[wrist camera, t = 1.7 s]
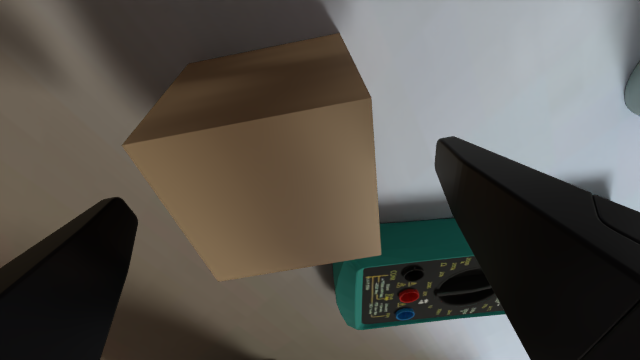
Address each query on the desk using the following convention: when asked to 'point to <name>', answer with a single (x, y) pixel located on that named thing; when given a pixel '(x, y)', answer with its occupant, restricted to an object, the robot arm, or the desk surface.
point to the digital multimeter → (414, 278)
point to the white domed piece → (633, 91)
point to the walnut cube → (266, 158)
